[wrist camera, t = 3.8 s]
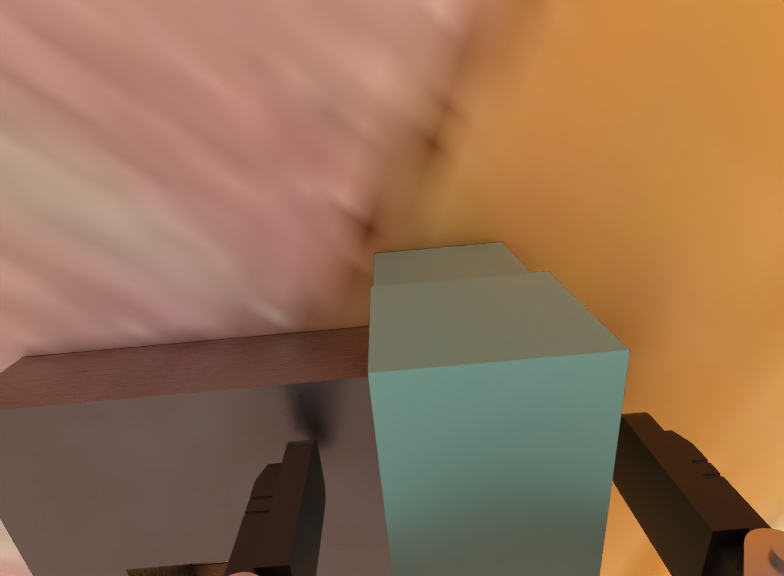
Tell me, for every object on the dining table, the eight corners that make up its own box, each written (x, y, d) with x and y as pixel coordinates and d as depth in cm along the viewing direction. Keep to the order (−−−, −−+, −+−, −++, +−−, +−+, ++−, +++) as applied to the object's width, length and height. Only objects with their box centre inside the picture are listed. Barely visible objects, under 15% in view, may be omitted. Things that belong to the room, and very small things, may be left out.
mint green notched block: (372, 238, 14) (367, 373, 7) (502, 226, 14) (629, 349, 7) (398, 484, 18) (411, 732, 11) (499, 474, 18) (580, 717, 11)
